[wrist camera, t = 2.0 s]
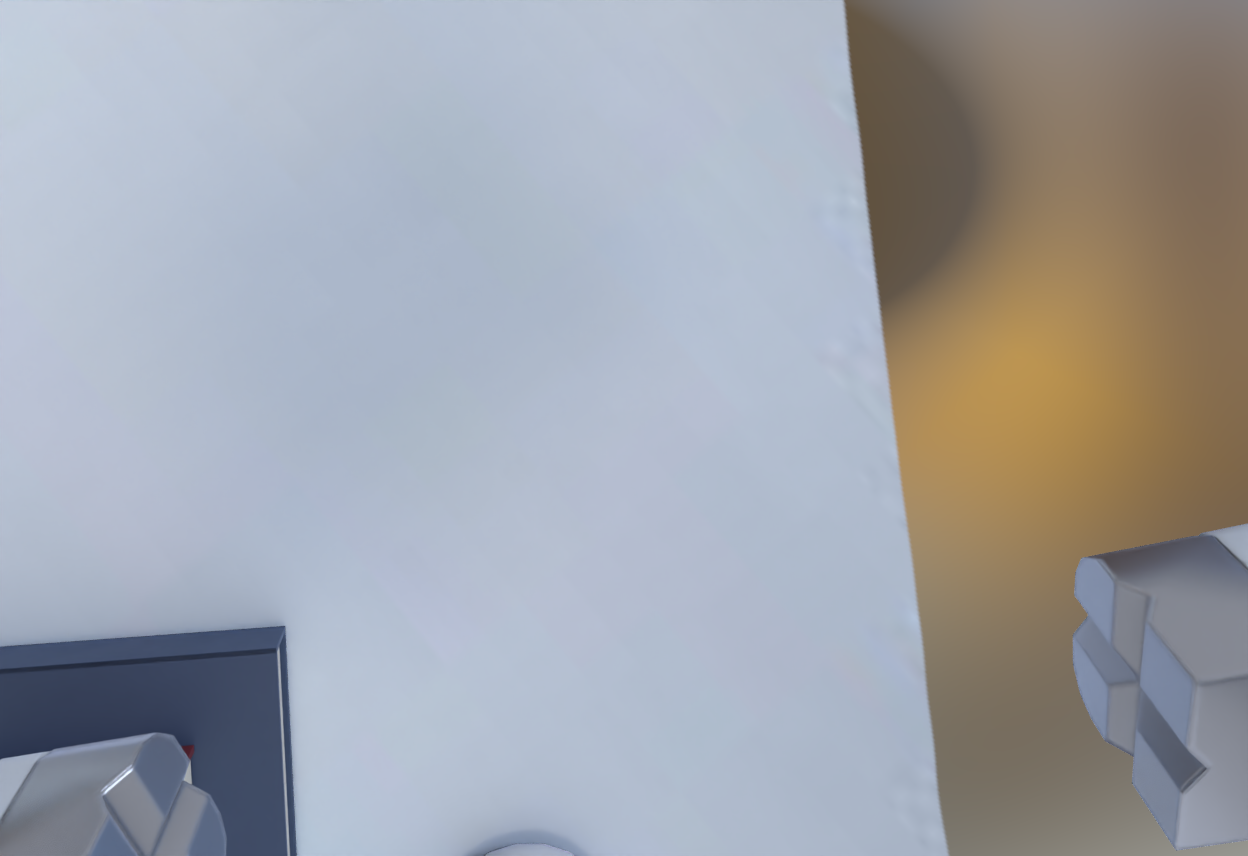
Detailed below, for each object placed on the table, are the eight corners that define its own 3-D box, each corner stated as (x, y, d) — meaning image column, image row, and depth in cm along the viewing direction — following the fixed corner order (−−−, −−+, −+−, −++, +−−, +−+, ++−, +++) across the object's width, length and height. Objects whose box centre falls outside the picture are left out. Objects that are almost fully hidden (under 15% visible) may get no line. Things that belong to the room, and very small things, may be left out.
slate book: (-106, 654, 47) (-146, 680, 44) (285, 625, 51) (276, 647, 48) (-82, 906, 49) (-118, 950, 45) (296, 860, 52) (289, 898, 49)
